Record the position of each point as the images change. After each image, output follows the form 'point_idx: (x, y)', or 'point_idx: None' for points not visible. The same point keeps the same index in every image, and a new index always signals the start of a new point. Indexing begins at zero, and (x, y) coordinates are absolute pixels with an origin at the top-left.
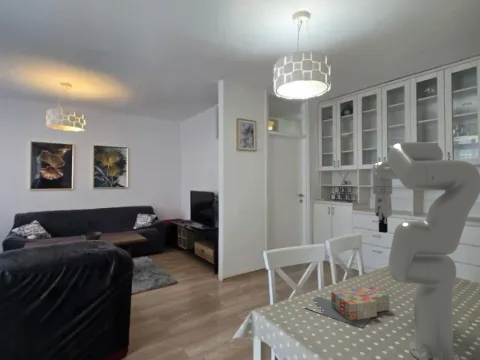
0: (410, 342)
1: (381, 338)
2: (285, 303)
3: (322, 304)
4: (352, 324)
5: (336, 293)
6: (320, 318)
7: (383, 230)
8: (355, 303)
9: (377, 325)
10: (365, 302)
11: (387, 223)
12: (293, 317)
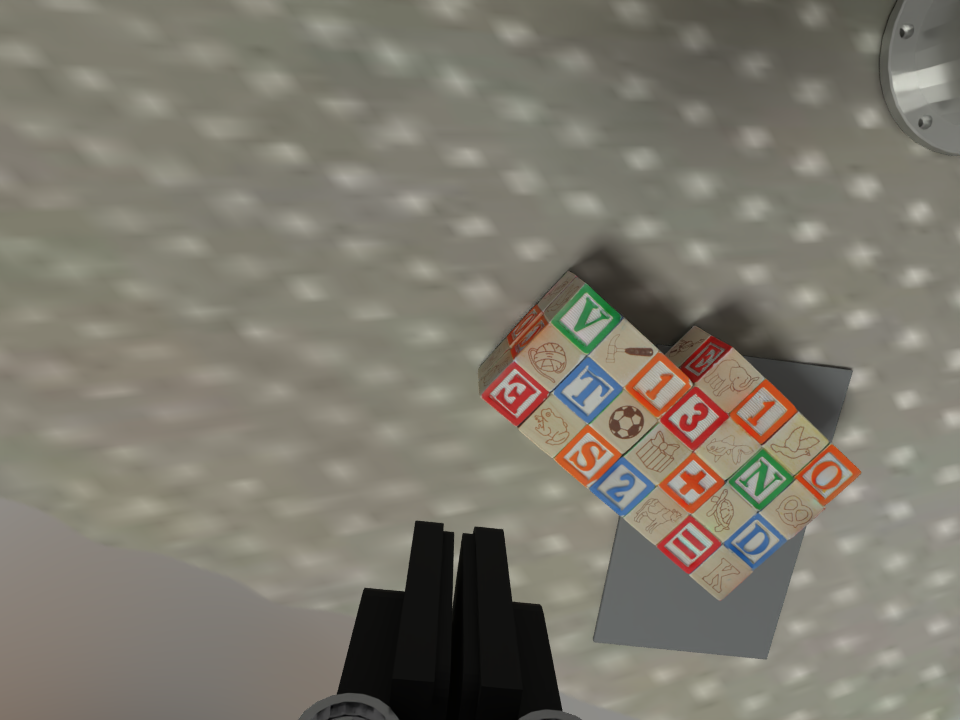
0: (941, 149)
1: (910, 279)
2: None
3: (683, 593)
4: (836, 419)
5: (732, 571)
6: (835, 559)
7: (535, 614)
8: (831, 449)
9: (784, 310)
10: (779, 401)
11: (400, 672)
12: (879, 659)
